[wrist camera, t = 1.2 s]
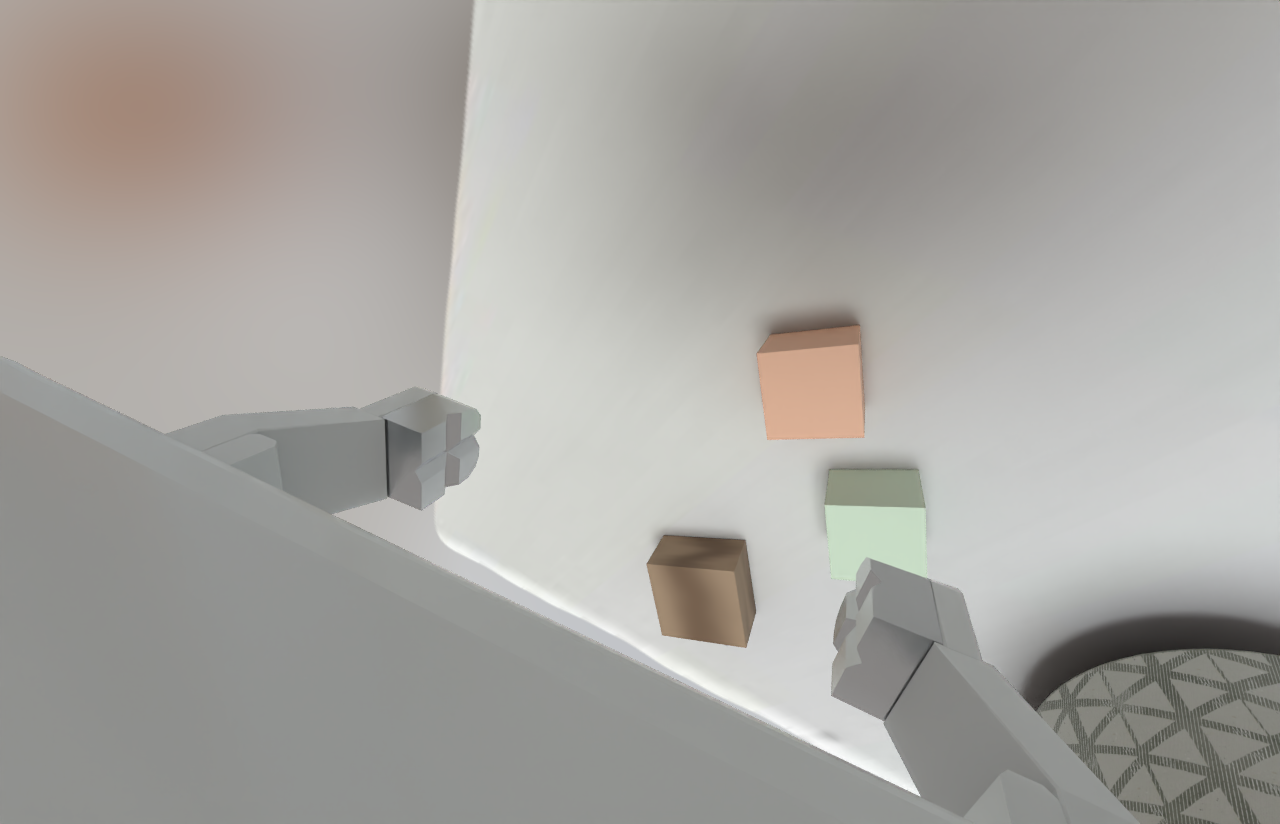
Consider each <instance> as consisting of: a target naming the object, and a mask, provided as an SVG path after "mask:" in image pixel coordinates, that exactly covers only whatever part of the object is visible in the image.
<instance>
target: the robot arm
mask: <svg viewBox="0 0 1280 824" xmlns="http://www.w3.org/2000/svg"><path fill="white" fill-rule="evenodd" d="M480 421H481V415H480V414H479V412H478V411H477V409H475V408H473V407H470V406H468V405H465V404H463V403H460V402H458V401H455V400H453V399H450V398H448V397H445V396H443V395H439V394H438V393H436V392H432V391H430V390H427V389H424V388H420V387H413V388H410V389H408V390H405V391H403V392H400V393H398V394H395V395H393V396H391V397H388V398H385V399H383V400H380V401H378V402H375V403H373V404H370V405H368V406H365V407H363V408H361V409H358V408H355V407H342V408H326V409H312V410H311V409H310V410H296V411H279V412H263V413H248V414H231V415H222V416H218V417H215V418H212V419H209V420H206V421H203V422H200V423H197V424H194V425H191V426H188V427H185V428H182V429H179V430H176V431H173V432H170V433H167V434H164V433H162V432H159V431H157V430H155V429H153V428H151V427H149V426H147V425H145V424H143V423H141V422H139V421H137V420H135V419H132V418H130V417H128V416H126V415H124V414H122V413H120V412H118V411H116V410H114V409H112V408H110V407H107V406H105V405H103V404H101V403H99V402H97V401H95V400H93V399H91V398H89V397H87V396H85V395H83V394H81V393H78V392H76V391H74V390H72V389H70V388H68V387H66V386H64V385H62V384H60V383H58V382H56V381H53V380H51V379H49V378H47V377H45V376H43V375H41V374H39V373H37V372H35V371H33V370H31V369H29V368H28V367H26V366H24V365H21V364H20V363H18V362H15V361H12V360H10V359H7V358H4V357H0V824H1140V823H1139V822H1138V821H1137V820H1136V818H1135V817H1134V816H1133V815H1132V814H1131V813H1130V812H1129V811H1128V810H1127V809H1126V808H1125V807H1124V806H1123V805H1122V803H1121V802H1120V801H1119V800H1118V799H1117V798H1116V797H1115V796H1114V795H1113V794H1112V793H1111V792H1110V791H1109V790H1108V788H1107V787H1106V786H1105V785H1104V784H1103V783H1102V782H1101V781H1100V780H1099V779H1098V778H1097V777H1096V776H1095V774H1094V773H1093V772H1092V771H1091V770H1090V769H1089V768H1088V767H1087V766H1086V765H1085V764H1084V763H1083V762H1082V761H1081V759H1080V758H1079V757H1078V756H1077V755H1076V754H1075V753H1074V752H1073V751H1072V750H1071V749H1070V748H1069V747H1068V746H1067V744H1066V743H1065V742H1064V741H1063V740H1062V739H1061V738H1060V737H1059V736H1058V735H1057V734H1056V733H1055V732H1054V730H1053V729H1052V728H1051V727H1050V726H1049V725H1048V724H1047V723H1046V722H1045V721H1044V720H1043V719H1042V718H1041V717H1040V715H1039V714H1038V713H1037V712H1036V711H1035V710H1034V709H1033V708H1032V707H1031V706H1030V705H1029V704H1028V703H1027V702H1026V700H1025V699H1024V698H1023V697H1022V696H1021V695H1020V694H1019V693H1018V692H1017V691H1016V690H1015V689H1014V688H1013V687H1012V685H1011V684H1010V683H1009V682H1008V681H1007V680H1006V679H1005V678H1004V677H1003V676H1002V675H1001V674H1000V673H999V671H998V670H997V669H996V668H995V667H994V666H992V665H990V664H988V663H985V662H983V660H982V657H981V653H980V650H979V647H978V643H977V640H976V637H975V633H974V630H973V626H972V623H971V620H970V616H969V613H968V610H967V606H966V603H965V599H964V596H963V593H962V592H961V591H960V590H959V589H958V588H955V587H952V586H949V585H946V584H943V583H940V582H937V581H934V580H931V579H928V578H925V577H922V576H919V575H916V574H913V573H910V572H908V571H905V570H902V569H899V568H896V567H893V566H890V565H888V564H885V563H882V562H879V561H876V560H873V559H871V558H868V557H866V558H865V559H864V561H863V562H862V563H861V565H860V567H859V569H858V571H857V573H856V589H855V590H852V591H850V592H848V593H847V594H846V596H845V598H844V600H843V602H842V605H841V607H840V610H839V613H838V616H837V619H836V623H835V629H834V640H833V644H834V646H835V647H836V649H837V651H838V653H837V655H836V657H835V659H834V661H833V663H832V686H831V696H833V697H835V698H837V699H839V700H841V701H843V702H845V703H847V704H849V705H852V706H854V707H856V708H858V709H860V710H862V711H864V712H866V713H868V714H870V715H872V716H874V717H877V718H879V719H881V720H883V721H885V722H884V723H883V724H884V726H885V728H886V729H887V731H888V733H889V735H890V737H891V739H892V741H893V743H894V745H895V747H896V749H897V751H898V753H899V755H900V757H901V759H902V761H903V762H904V764H905V766H906V768H907V770H908V772H909V774H910V776H911V778H912V780H913V782H914V784H915V786H916V788H917V790H918V792H919V794H920V795H921V797H919V796H917V795H915V794H913V793H911V792H909V791H907V790H905V789H903V788H901V787H899V786H897V785H895V784H892V783H890V782H888V781H886V780H884V779H882V778H880V777H878V776H876V775H874V774H872V773H870V772H867V771H865V770H863V769H861V768H859V767H857V766H855V765H853V764H851V763H849V762H847V761H844V760H842V759H840V758H838V757H836V756H834V755H832V754H830V753H827V752H825V751H823V750H821V749H819V748H817V747H815V746H813V745H811V744H809V743H807V742H805V741H802V740H800V739H798V738H796V737H794V736H792V735H790V734H788V733H786V732H784V731H781V730H780V729H778V728H775V727H773V726H771V725H769V724H767V723H765V722H763V721H761V720H759V719H756V718H754V717H753V716H751V715H748V714H746V713H744V712H742V711H740V710H738V709H736V708H734V707H732V706H730V705H728V704H726V703H724V702H721V701H719V700H717V699H715V698H713V697H711V696H709V695H707V694H705V693H703V692H701V691H699V690H696V689H694V688H692V687H690V686H688V685H686V684H684V683H682V682H680V681H678V680H675V679H674V678H671V677H669V676H667V675H665V674H663V673H661V672H659V671H657V670H655V669H653V668H651V667H649V666H647V665H645V664H642V663H640V662H638V661H636V660H634V659H632V658H630V657H628V656H626V655H624V654H622V653H620V652H617V651H615V650H613V649H611V648H609V647H607V646H605V645H603V644H601V643H599V642H597V641H594V640H593V639H590V638H588V637H586V636H584V635H582V634H580V633H578V632H576V631H574V630H572V629H570V628H568V627H565V626H563V625H561V624H559V623H557V622H555V621H553V620H551V619H549V618H547V617H544V616H542V615H540V614H538V613H536V612H534V611H532V610H530V609H528V608H525V607H524V606H521V605H519V604H517V603H515V602H513V601H511V600H509V599H507V598H505V597H503V596H501V595H498V594H496V593H494V592H492V591H490V590H488V589H486V588H484V587H482V586H480V585H478V584H476V583H474V582H471V581H469V580H467V579H465V578H463V577H461V576H459V575H457V574H455V573H452V572H451V571H448V570H446V569H444V568H442V567H440V566H438V565H436V564H434V563H432V562H430V561H428V560H426V559H424V558H422V557H419V556H417V555H415V554H413V553H411V552H409V551H407V550H405V549H403V548H401V547H399V546H396V545H395V544H392V543H390V542H388V541H386V540H384V539H382V538H380V537H378V536H376V535H374V534H372V533H370V532H367V531H365V530H363V529H361V528H359V527H357V526H355V525H353V524H351V523H349V522H347V521H344V520H342V519H340V518H338V517H336V516H334V515H332V514H334V513H338V512H341V511H344V510H348V509H352V508H355V507H359V506H362V505H366V504H369V503H373V502H376V501H380V500H383V499H387V496H388V497H390V498H393V499H395V500H397V501H400V502H402V503H404V504H407V505H409V506H412V507H414V508H417V509H419V510H423V509H425V508H426V507H427V506H429V505H430V504H432V503H433V502H435V501H436V500H437V499H439V498H440V497H442V496H443V495H444V494H445V487H448V486H453V485H459V484H460V483H461V482H463V481H464V480H465V479H467V478H468V477H469V475H470V474H471V472H472V471H473V470H474V468H475V466H476V463H477V460H478V457H479V445H478V443H477V441H476V438H475V436H474V435H475V434H476V433H477V432H478V431H479V430H480Z"/></svg>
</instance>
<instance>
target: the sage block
mask: <svg viewBox="0 0 1280 824" xmlns="http://www.w3.org/2000/svg"><path fill="white" fill-rule="evenodd" d="M825 516H826V527H827V538H828V549H829V560H830V571H831V579H837V580H849V581H856V573H857V571H858V569H859V567H860V565H861V563H862V562H863V561H864V559H865V558H866V557H868V558H871V559H873V560H876V561H879V562H882V563H885V564H888V565H890V566H893V567H896V568H899V569H902V570H905V571H908V572H910V573H913V574H916V575H919V576H922V577H925V578H927V551H926V508H925V503H924V497H923V492H922V486H921V481H920V476H919V470H897V469H830V470H829V477H828V484H827V491H826V498H825Z"/></svg>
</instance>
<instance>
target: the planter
mask: <svg viewBox="0 0 1280 824" xmlns="http://www.w3.org/2000/svg"><path fill="white" fill-rule="evenodd" d="M1036 712H1037V713H1038V714H1039V715H1040V717H1041V718H1042V719H1043V720H1044V721H1045V722H1046V723H1047V724H1048V725H1049V726H1050V727H1051V728H1052V729H1053V730H1054V732H1055V733H1056V734H1057V735H1058V736H1059V737H1060V738H1061V739H1062V740H1063V741H1064V742H1065V743H1066V744H1067V746H1068V747H1069V748H1070V749H1071V750H1072V751H1073V752H1074V753H1075V754H1076V755H1077V756H1078V757H1079V758H1080V759H1081V761H1082V762H1083V763H1084V764H1085V765H1086V766H1087V767H1088V768H1089V769H1090V770H1091V771H1092V772H1093V773H1094V774H1095V776H1096V777H1097V778H1098V779H1099V780H1100V781H1101V782H1102V783H1103V784H1104V785H1105V786H1106V787H1107V788H1108V790H1109V791H1110V792H1111V793H1112V794H1113V795H1114V796H1115V797H1116V798H1117V799H1118V800H1119V801H1120V802H1121V803H1122V805H1123V806H1124V807H1125V808H1126V809H1127V810H1128V811H1129V812H1130V813H1131V814H1132V815H1133V816H1134V817H1135V818H1136V820H1137V821H1138V822H1139V823H1140V824H1280V655H1274V654H1267V653H1260V652H1253V651H1242V650H1230V649H1179V650H1168V651H1158V652H1152V653H1145V654H1139V655H1134V656H1130V657H1126V658H1121V659H1118V660H1114V661H1111V662H1108V663H1104V664H1102V665H1099V666H1097V667H1094V668H1092V669H1089V670H1087V671H1085V672H1083V673H1081V674H1079V675H1077V676H1075V677H1073V678H1071V679H1070V680H1068V681H1067V682H1065V683H1064V684H1062V685H1061V686H1059V687H1058V688H1057V689H1056V690H1054V691H1053V692H1052V693H1051V694H1050V695H1049V696H1048V697H1047V698H1046V699H1045V700H1044V701H1043V702H1042V704H1041V705H1040V707H1039V708H1038V709H1037V711H1036Z"/></svg>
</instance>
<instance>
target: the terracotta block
mask: <svg viewBox="0 0 1280 824" xmlns="http://www.w3.org/2000/svg"><path fill="white" fill-rule="evenodd" d="M757 361H758V369H759V377H760V385H761V393H762V401H763V409H764V417H765V425H766V433H767V440H779V439H823V438H864V426H865V402H864V385H863V369H862V352H861V336H860V325H855V326H846V327H837V328H828V329H818V330H809V331H800V332H791V333H782V334H772V335H770V336H769V337H768V339H767V340H766V341H765V343H764V344H763V346H762V347H761V348H760V350H759V351H758V353H757Z"/></svg>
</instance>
